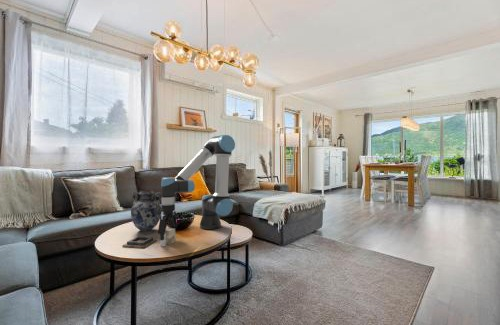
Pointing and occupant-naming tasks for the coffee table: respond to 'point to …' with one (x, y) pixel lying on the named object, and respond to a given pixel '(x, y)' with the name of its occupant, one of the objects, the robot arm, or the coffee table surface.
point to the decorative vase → (146, 210)
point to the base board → (140, 242)
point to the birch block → (169, 235)
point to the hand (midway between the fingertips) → (168, 242)
